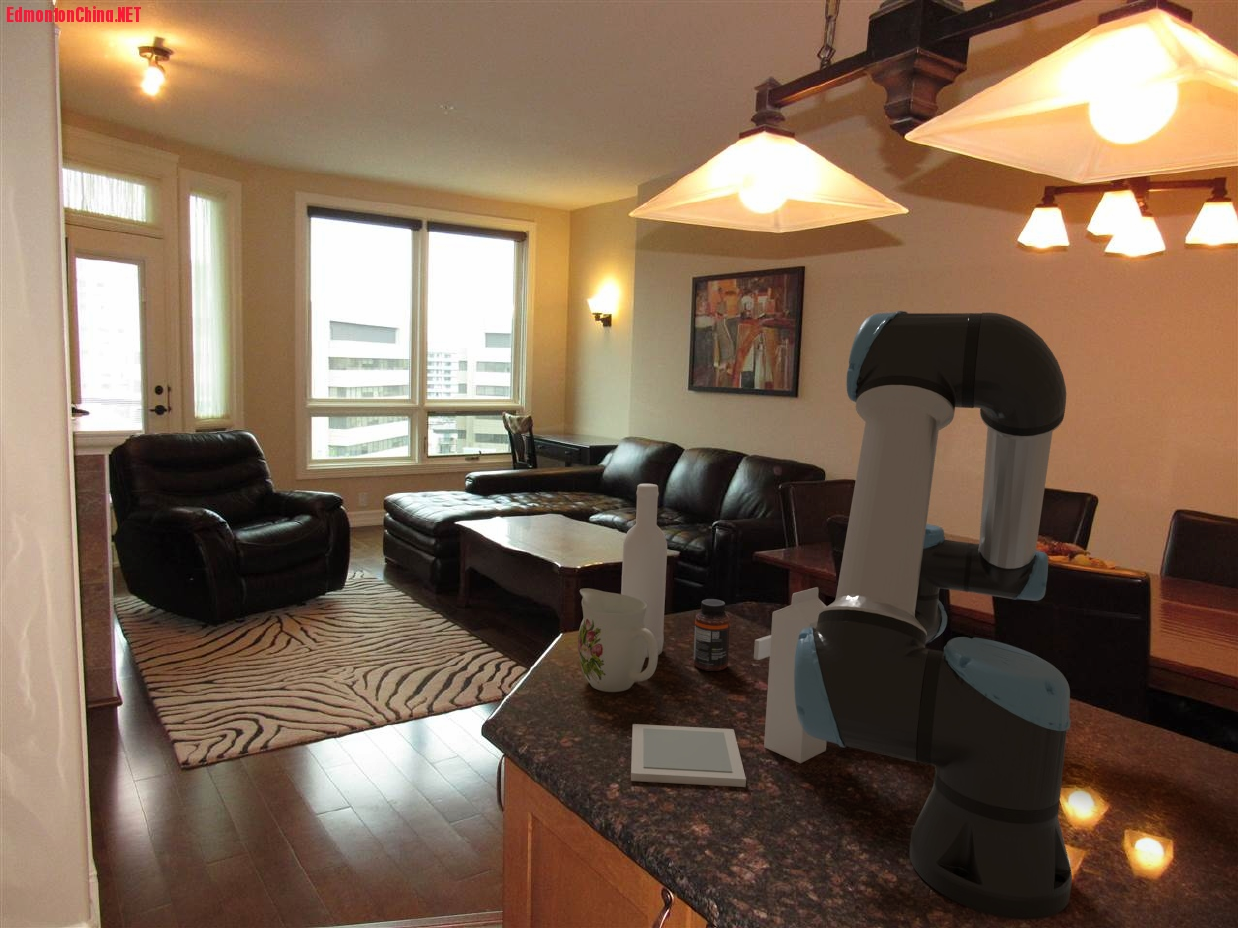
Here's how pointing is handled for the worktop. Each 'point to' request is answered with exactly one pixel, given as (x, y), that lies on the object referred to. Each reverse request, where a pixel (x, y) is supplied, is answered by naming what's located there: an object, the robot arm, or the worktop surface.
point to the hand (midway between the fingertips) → (797, 664)
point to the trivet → (686, 755)
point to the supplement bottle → (711, 636)
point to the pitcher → (614, 641)
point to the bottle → (646, 562)
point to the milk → (789, 679)
